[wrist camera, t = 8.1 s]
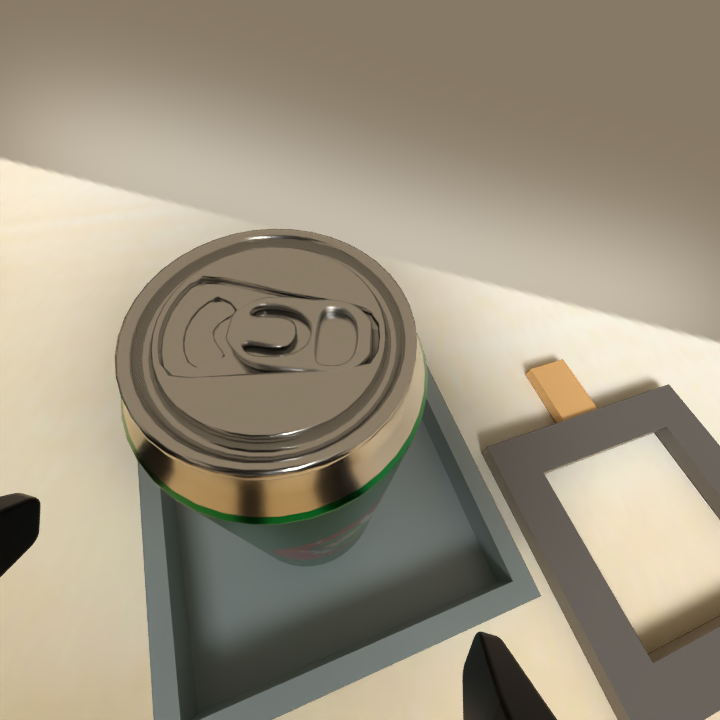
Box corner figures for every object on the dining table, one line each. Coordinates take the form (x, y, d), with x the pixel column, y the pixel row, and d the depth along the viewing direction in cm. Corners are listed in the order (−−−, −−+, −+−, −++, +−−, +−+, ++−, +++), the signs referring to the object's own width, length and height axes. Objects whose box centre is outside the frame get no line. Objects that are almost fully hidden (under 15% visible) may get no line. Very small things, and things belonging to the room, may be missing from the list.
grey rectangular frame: (697, 874, 12) (720, 892, 11) (453, 397, 19) (457, 389, 19) (917, 714, 14) (947, 720, 13) (620, 345, 22) (630, 337, 21)
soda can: (260, 434, 17) (153, 200, 7) (373, 442, 17) (435, 224, 7) (235, 563, 15) (4, 495, 4) (369, 571, 15) (457, 523, 4)
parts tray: (183, 745, 12) (157, 772, 10) (153, 405, 18) (132, 384, 16) (515, 595, 15) (541, 595, 13) (396, 342, 21) (402, 317, 19)
